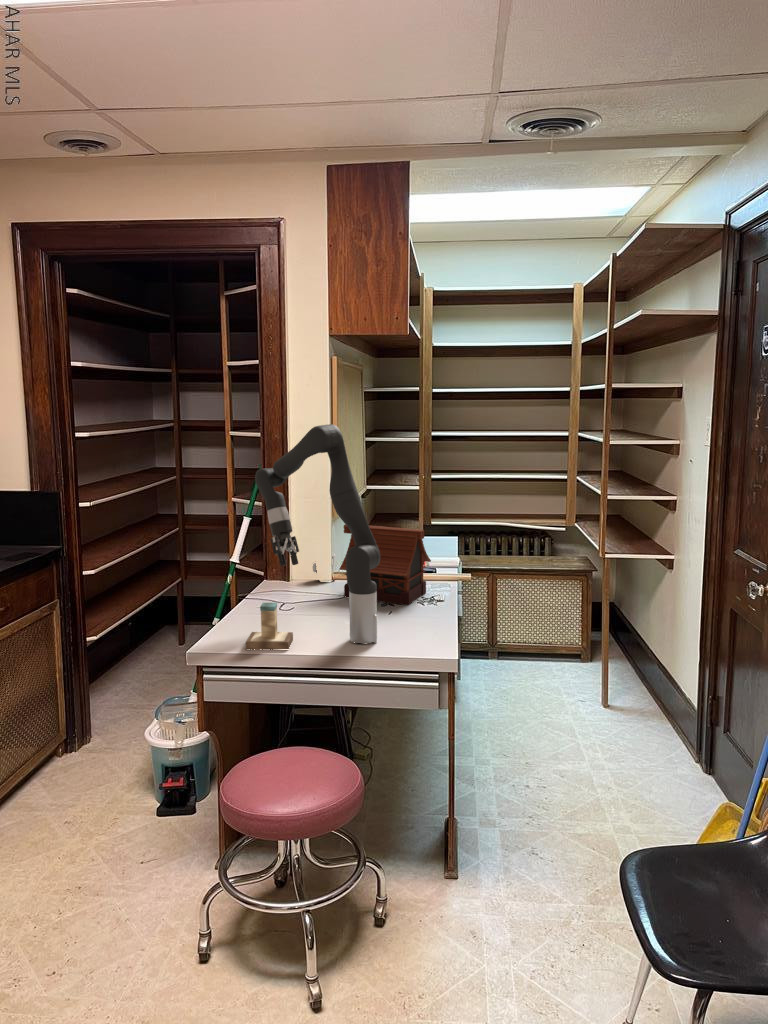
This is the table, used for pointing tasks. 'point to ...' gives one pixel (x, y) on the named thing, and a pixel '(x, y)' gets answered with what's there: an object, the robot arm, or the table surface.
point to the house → (396, 564)
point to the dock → (269, 641)
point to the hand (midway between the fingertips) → (289, 565)
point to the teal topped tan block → (268, 620)
